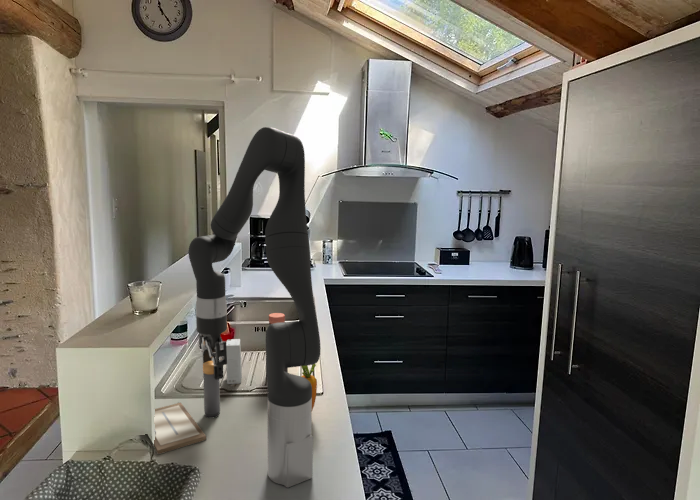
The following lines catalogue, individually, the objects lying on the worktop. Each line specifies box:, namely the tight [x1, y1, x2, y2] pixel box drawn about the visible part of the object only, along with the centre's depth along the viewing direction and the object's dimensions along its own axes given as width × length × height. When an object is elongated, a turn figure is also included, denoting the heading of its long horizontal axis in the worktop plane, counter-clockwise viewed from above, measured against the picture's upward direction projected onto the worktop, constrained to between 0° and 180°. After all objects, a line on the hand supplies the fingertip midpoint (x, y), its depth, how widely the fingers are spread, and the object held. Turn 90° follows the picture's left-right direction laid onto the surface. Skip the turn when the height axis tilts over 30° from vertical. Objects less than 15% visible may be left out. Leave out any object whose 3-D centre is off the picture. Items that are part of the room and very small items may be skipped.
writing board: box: [153, 402, 207, 455], centre depth 119 cm, size 20×11×2 cm, turn 36°
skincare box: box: [225, 338, 243, 385], centre depth 147 cm, size 6×4×12 cm
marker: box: [202, 360, 221, 419], centre depth 126 cm, size 4×4×14 cm
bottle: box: [265, 312, 289, 379], centre depth 149 cm, size 7×7×20 cm
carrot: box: [300, 363, 318, 411], centre depth 125 cm, size 5×5×15 cm
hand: (212, 372), depth 125 cm, fingers open, 8 cm apart
